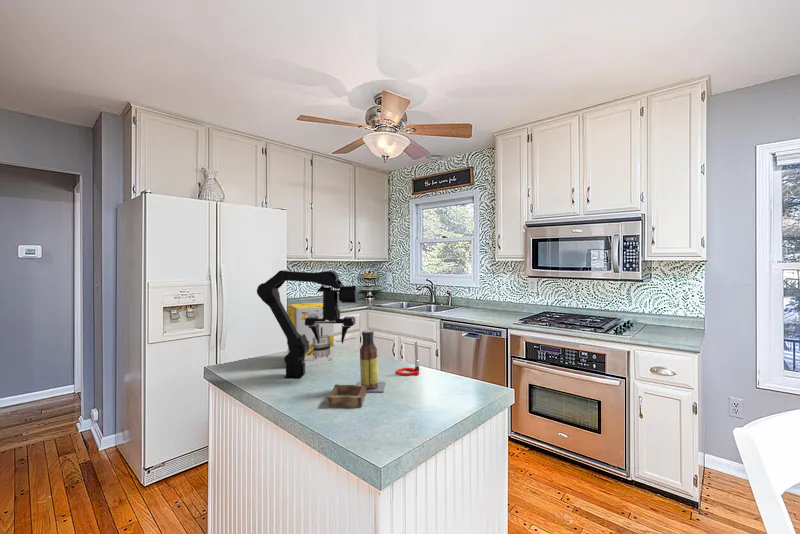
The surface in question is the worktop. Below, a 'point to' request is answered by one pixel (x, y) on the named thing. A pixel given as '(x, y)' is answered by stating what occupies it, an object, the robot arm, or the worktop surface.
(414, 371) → the tow hook
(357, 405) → the holder frame
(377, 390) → the slate tile
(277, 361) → the worktop surface
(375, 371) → the sauce bottle
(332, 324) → the packaging box
